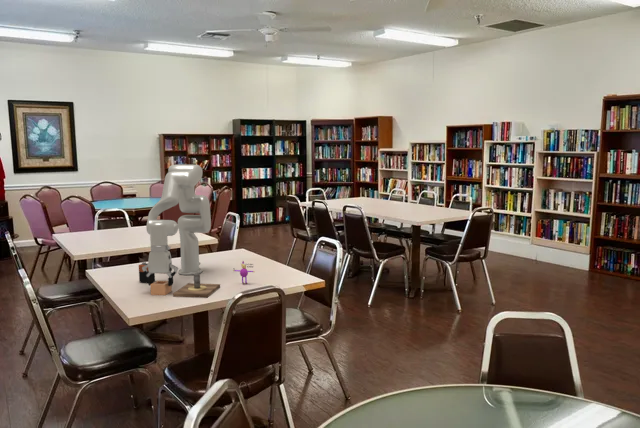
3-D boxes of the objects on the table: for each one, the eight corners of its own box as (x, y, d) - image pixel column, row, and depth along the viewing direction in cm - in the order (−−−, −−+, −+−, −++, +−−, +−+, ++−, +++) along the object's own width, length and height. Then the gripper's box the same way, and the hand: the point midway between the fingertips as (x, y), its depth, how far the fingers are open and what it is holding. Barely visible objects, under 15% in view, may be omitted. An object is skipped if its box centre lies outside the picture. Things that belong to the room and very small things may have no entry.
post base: (188, 286, 245) (188, 268, 244) (220, 287, 243) (219, 269, 242) (173, 296, 227) (172, 277, 226) (207, 297, 225) (206, 278, 224)
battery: (145, 280, 257) (144, 261, 255) (155, 281, 254) (154, 262, 253) (139, 282, 253) (138, 263, 251) (149, 283, 250) (148, 264, 249)
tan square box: (157, 290, 237) (157, 280, 237) (171, 291, 236) (171, 280, 236) (150, 294, 230) (150, 284, 230) (165, 295, 230) (164, 284, 229)
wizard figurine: (255, 283, 249) (255, 260, 247) (253, 285, 246) (253, 261, 244) (234, 282, 251) (234, 259, 250) (232, 284, 248) (231, 260, 247)
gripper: (180, 247, 233) (181, 283, 235) (145, 247, 236) (146, 282, 237) (173, 250, 226) (174, 287, 228) (137, 249, 228) (139, 286, 230)
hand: (160, 285), depth 232 cm, fingers open, 9 cm apart
